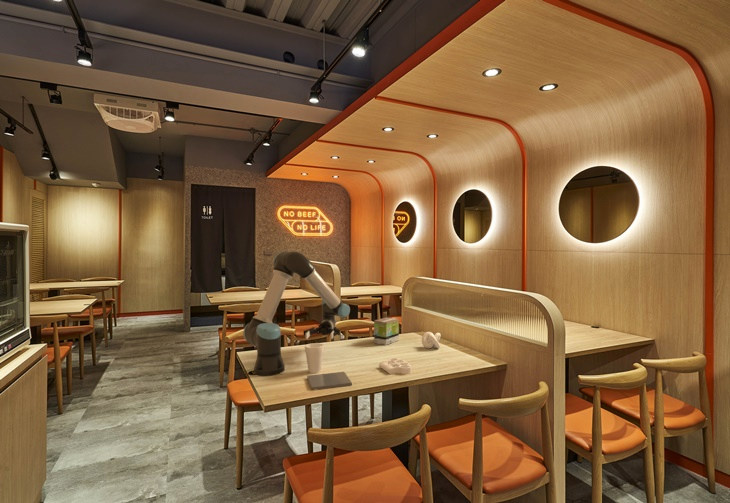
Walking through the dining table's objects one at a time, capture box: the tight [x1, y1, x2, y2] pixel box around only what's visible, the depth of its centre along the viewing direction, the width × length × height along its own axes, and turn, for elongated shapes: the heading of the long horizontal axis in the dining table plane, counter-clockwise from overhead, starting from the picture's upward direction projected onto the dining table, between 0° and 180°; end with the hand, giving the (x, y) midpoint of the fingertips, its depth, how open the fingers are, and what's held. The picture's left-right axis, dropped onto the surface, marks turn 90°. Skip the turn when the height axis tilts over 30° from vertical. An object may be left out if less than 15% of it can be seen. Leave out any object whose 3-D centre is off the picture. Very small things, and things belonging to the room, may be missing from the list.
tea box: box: [373, 316, 400, 346], centre depth 248 cm, size 15×10×15 cm, turn 143°
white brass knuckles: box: [378, 357, 413, 375], centre depth 194 cm, size 3×18×15 cm
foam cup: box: [304, 342, 325, 374], centre depth 192 cm, size 10×9×13 cm
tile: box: [306, 371, 353, 391], centre depth 177 cm, size 18×16×1 cm
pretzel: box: [421, 331, 441, 349], centre depth 233 cm, size 11×12×9 cm
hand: (318, 336), depth 202 cm, fingers open, 13 cm apart
